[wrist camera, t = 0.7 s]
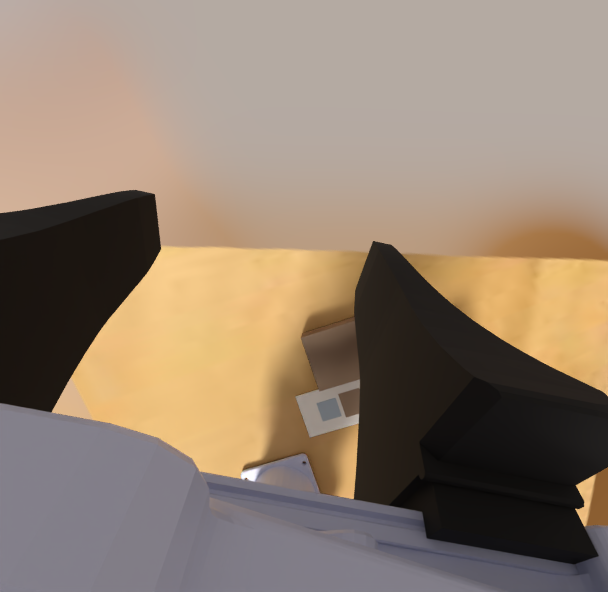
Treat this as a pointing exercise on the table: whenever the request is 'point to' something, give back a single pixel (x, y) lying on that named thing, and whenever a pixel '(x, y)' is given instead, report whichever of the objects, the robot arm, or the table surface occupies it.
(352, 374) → the base brick
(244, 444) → the table surface
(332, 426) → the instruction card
